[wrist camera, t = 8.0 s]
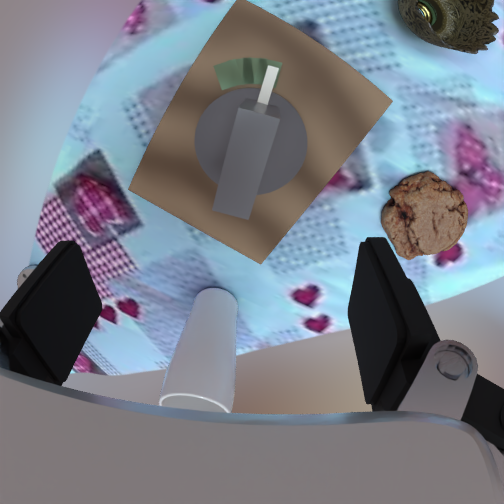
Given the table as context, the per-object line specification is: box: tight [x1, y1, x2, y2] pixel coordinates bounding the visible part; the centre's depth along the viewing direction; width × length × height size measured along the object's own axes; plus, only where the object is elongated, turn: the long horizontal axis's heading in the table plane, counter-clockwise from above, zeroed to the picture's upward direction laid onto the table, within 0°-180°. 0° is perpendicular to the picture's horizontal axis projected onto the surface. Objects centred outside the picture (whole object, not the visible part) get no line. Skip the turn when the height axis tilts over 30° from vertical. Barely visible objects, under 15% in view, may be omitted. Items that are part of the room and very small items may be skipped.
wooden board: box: [128, 0, 393, 264], centre depth 26 cm, size 20×15×2 cm
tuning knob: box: [194, 65, 307, 220], centre depth 21 cm, size 11×9×7 cm
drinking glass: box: [159, 288, 238, 413], centre depth 31 cm, size 7×7×15 cm
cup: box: [398, 0, 499, 54], centre depth 15 cm, size 8×7×8 cm
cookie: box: [381, 171, 468, 260], centre depth 28 cm, size 10×11×3 cm
